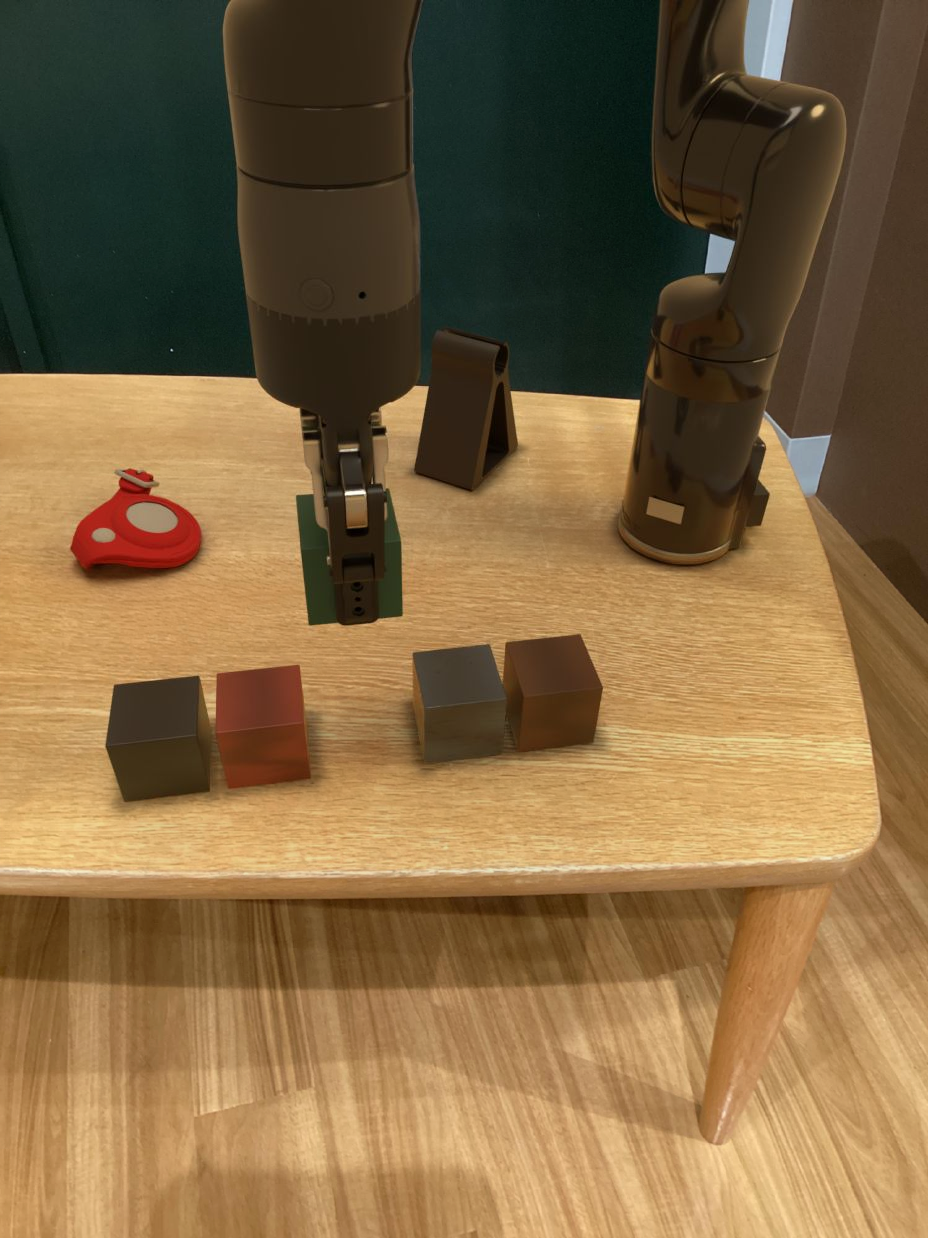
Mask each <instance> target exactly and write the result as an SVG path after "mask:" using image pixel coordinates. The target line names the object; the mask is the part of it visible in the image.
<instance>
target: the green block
mask: <svg viewBox="0 0 928 1238" xmlns="http://www.w3.org/2000/svg"><path fill="white" fill-rule="evenodd" d="M386 493H387V518H386V520H385V561H386V567H387V572H384V580H378V598H379V618H378V620H382V619H391V618H402V617H403V615H404V605H403V603H404V601H403V600H404V599H403V553H402V552H403V551H402V547H403V546H402V537H401V534H400V530H399V525H398V521H397V516H396V512H395V508H394V503H393V499H392V495H391V491H390V488H389V487H386ZM324 496H326V493H324ZM295 504H296V514H297V525H298V527H297V528H298V537H299V538H298V539H299V547H300V548H299V549H300V557H301V566H302V576H303V587H304V596H305V605H306V613H307V623H308V626H321V625H322V626H323V625H330V624H331V625H332V624H339V623H338V622H337V617H336V607H335V595H334V584H333V578H332V577H329V569H328V567H329V566H330V565H327V555H329V546H328V535H327V530H326V529H324V528H322V527H320V526H319V525H318V524H317V522H316V516H315V507H314V496H313V493H308V494H307V493H305V494H296V495H295ZM330 567H331V566H330Z"/></svg>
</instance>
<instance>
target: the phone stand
mask: <svg viewBox="0 0 928 1238" xmlns="http://www.w3.org/2000/svg"><path fill="white" fill-rule="evenodd" d="M430 351H431V352H430V353H431V371H430V377H429V382H428V388H427V393H426V399H425V404H424V412H423V416H422V422H421V428H420V435H419V439H418V445H417V452H416V457H415V463H414V468H413V469H414V470H413V471H414V472H415V473H418V474H421V475H424V476H427V477H431V478H433V479H436V480H438V481H439V480H440V481H443V482H444V483H445V482H446V483H449V484H451V485H455V486H458V487H461V488H464V489H467V490H471V491H474V490H476V489H477V488H478V487H479V486H480V485H481V484H482V483H483V482H484V481H485V480H486V479H487V478H488V477H489V476H490V475H491V474H492V473H493V472H494V471H495V470H496V469H497V468H499V467H500V466H501V464H502V463H504V462H505V461H506V460H507V459H508V458H509V457H510V456H511V455H512V454H513V453H514V452H516V450H517V449H518V446H519V441H518V433H517V427H516V419H515V413H514V412H515V411H514V406H513V399H512V390H511V384H510V377H509V360H510V344H509V343H508V342H507V341H503V340H501V339H500V340H499V339H495V338H492V337H487V336H484V335H480V334H475V333H472V332H467V331H463V330H460V329H456V328H453V327H448V326H445V325H444V326H442V330H440V329H437V330H436V332H435V334H434V336H433V339H432V344H431V349H430Z"/></svg>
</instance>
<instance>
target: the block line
mask: <svg viewBox="0 0 928 1238" xmlns="http://www.w3.org/2000/svg"><path fill="white" fill-rule="evenodd" d="M411 656H412V658H411V659H412V661H411V662H412V663H411V665H412V666H411V667H412V709H413V714H414V719H415V725H416V728H417V734H418V737H419V738H418V739H419V744H420V748H421V754H422V758H423V763H424V765H428V764H436V763H437V764H438V763H444V762H452V761H461V760H467V759H475V758H476V759H477V758H483V757H490V756H498V755H499V756H500V755H503V754H504V740H505V728H506V716H507V720H508V723H509V726H510V730H511V732H512V737H513V740H514V743H515V746H516V749H517V752H518V753H522V752H531V751H538V750H547V749H555V748H562V747H569V746H577V745H585V744H593V743H594V742H595V737H596V732H597V726H598V719H599V715H600V709H601V703H602V698H603V697H602V696H603V691H604V686H603V683H602V681H601V679H600V677H599V674H598V672H597V670H596V667H595V665H594V662H593V660H592V658H591V656H590V653H589V651H588V649H587V646H586V644H585V642H584V639H583V636H582V634H580V633H578V634H577V633H576V634H568V635H559V636H551V637H541V638H540V637H539V638H531V639H530V638H529V639H522V640H514V641H506V642H505V643H504V655H503V656H504V659H503V670H502V679H501V675H500V672H499V669H498V666H497V662H496V660H495V656H494V653H493V649H492V646H491V644H490V643H486V644H476V645H467V646H458V647H449V648H437V649H429V650H420V651H412V653H411ZM301 672H302V671H301V665H300V664H292V665H291V664H290V665H281V666H273V667H265V668H264V667H261V668H254V669H245V670H243V669H242V670H236V671H234V670H233V671H227V672H226V671H225V672H218V673H216V681H215V682H216V683H215V689H216V690H215V725H214V726H215V728H214V729H215V730H214V731H215V732H214V733H215V734H214V735H215V739H216V743H217V747H218V751H219V756H220V761H221V765H222V770H223V774H224V778H225V779H224V780H225V784H226V788H227V790H232V789H241V788H247V787H256V786H265V785H271V784H279V783H288V782H294V781H303V780H304V781H305V780H310V779H312V773H311V761H310V760H311V759H310V747H309V734H308V721H307V713H306V712H307V711H306V706H305V698H304V697H305V696H304V689H303V682H302V674H301ZM111 695H112V696H111V703H110V709H109V716H108V723H107V725H108V726H107V730H106V731H107V732H106V738H105V745H104V747H105V750H106V752H107V755H108V759H109V761H110V764H111V767H112V770H113V773H114V776H115V780H116V782H117V786H118V789H119V791H120V794H121V798H122V800H123V802H124V803H130V802H137V801H146V800H153V799H161V798H169V797H176V796H184V795H191V794H192V795H193V794H199V793H200V794H201V793H207V792H210V791H211V783H212V782H211V781H212V780H211V779H212V778H211V777H212V744H213V743H212V741H213V740H212V737H213V731H212V725H211V720H210V716H209V712H208V708H207V703H206V698H205V694H204V689H203V685H202V681H201V677H200V675H190V676H181V677H172V678H162V679H153V680H144V681H135V682H125V683H115V684H114V685H113V688H112V694H111Z"/></svg>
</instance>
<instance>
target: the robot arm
mask: <svg viewBox="0 0 928 1238" xmlns="http://www.w3.org/2000/svg"><path fill="white" fill-rule="evenodd" d="M424 3H425V0H230V1H228V4H227V6H226V8H225V11H224V17H223V24H222V54H223V65H224V66H223V67H224V76H225V83H226V91H227V98H228V107H229V115H230V122H231V123H230V124H231V132H232V139H233V146H234V147H233V148H234V156H235V162H236V179H237V181H236V182H237V206H236V207H237V208H236V209H237V213H236V214H237V235H238V242H239V244H238V245H239V252H240V259H241V266H242V275H243V282H244V290H245V291H244V292H245V298H246V299H245V300H246V307H247V315H248V323H249V330H250V338H251V346H252V347H251V348H252V354H253V361H254V369H255V370H254V371H255V376H256V380H257V381H258V384H259V386H260V387H261V388H262V389H263V391H264V392H265V393H267V395H269V396H270V397H271V398H272V399H274V400H276V401H278V402H279V403H282V404H284V405H285V406H289V407H291V408H294V409H298V410H299V419H300V420H299V421H300V430H301V439H302V447H303V457H304V463H305V464H304V465H305V466H306V468H307V470H309V471H310V476H311V484H312V485H311V486H312V494H313V496H314V507H315V516H316V522H317V524H318V525H319V526H320V527H322V528H324V529H326V530H327V535H328V546H329V555H327V565H330V566H331V567H330V566H329V567H328V569H329V577H332V578H333V584H334V595H335V607H336V617H337V622H338V623H337V624H339V625H341V626H345V627H348V626H358V625H369V624H374V623H376V622H377V621H378V620H379V619H378V618H379V598H378V580H384V572H387V567H386V561H385V520H386V518H387V493H386V488H387V486H386V471H385V466H386V464H387V463H388V462H389V460H390V459H389V458H390V457H389V456H390V453H389V451H390V450H389V439H388V438H389V437H388V430H387V425H382V423H383V421H382V418H383V417H382V407H384V406H386V405H388V404H390V403H394V402H396V401H398V400H399V399H401V398H403V397H405V396H406V395H407V394H408V393H409V392H411V390H412V389H413V388H414V387H415V386H416V385H417V382H418V381H419V379H420V376H421V371H422V313H421V312H422V308H421V307H422V290H421V289H422V279H421V278H422V273H421V271H422V270H421V269H422V267H421V266H422V265H421V262H422V261H421V259H422V257H421V255H422V254H421V253H422V251H421V250H422V249H421V247H422V245H421V244H422V243H421V239H422V238H421V236H422V235H421V233H422V232H421V218H420V208H419V200H418V195H417V194H418V193H417V185H416V174H415V164H414V163H415V131H414V130H415V116H414V115H415V114H414V113H415V112H414V111H415V110H414V108H415V107H414V106H415V105H414V102H415V101H414V99H415V98H414V96H415V95H414V91H415V90H414V47H415V42H416V41H415V40H416V35H417V31H418V27H419V23H420V18H421V15H422V12H423V11H422V10H423V8H424V7H423V6H424ZM749 3H750V0H658V15H657V33H656V46H655V47H656V49H655V62H654V63H655V65H654V78H653V79H654V80H653V81H654V82H653V96H652V108H651V109H652V110H651V112H652V113H651V127H650V128H651V130H650V131H651V132H650V172H651V181H652V187H653V191H654V196H655V200H656V201H657V204H658V205H659V207H660V209H661V210H662V213H664V214H665V215H666V216H667V217H669V218H670V219H671V220H673V221H674V222H677V223H679V224H681V225H684V226H686V227H688V228H692V229H693V230H698V231H700V232H703V233H707V234H709V235H712V236H716V237H719V238H723V239H726V240H728V241H732V242H734V244H733V247H732V252H731V255H730V258H729V260H728V263H727V267H726V270H725V271H720V272H706V273H698V274H691V275H688V276H683V277H680V278H677V279H676V280H673V281H671V282H669V283H668V284H666V285H665V286H664V287H663V288H662V289H661V290H660V292H659V293H658V295H657V298H656V300H655V305H654V310H653V315H652V322H651V329H650V336H649V341H648V347H647V354H646V360H645V368H644V373H643V378H642V385H641V390H640V396H639V402H638V403H639V404H638V409H637V414H636V421H635V427H634V428H635V429H634V432H633V433H634V434H633V439H632V445H631V451H630V457H629V463H628V470H627V476H626V482H625V488H624V494H623V499H622V501H621V502H622V503H621V509H620V511H619V516H618V517H619V518H618V522H617V527H618V532H619V535H620V536H621V538H622V539H623V541H624V542H625V543H626V544H627V545H628V546H629V547H630V548H632V549H633V550H635V551H636V552H637V553H640V554H641V555H643V556H645V557H647V558H650V559H653V560H656V561H658V562H662V563H663V562H664V563H668V564H674V565H699V564H704V563H709V562H712V561H714V560H717V559H718V558H720V557H722V556H723V555H725V554H726V553H727V552H728V551H729V550H733V549H739V548H740V547H741V545H742V540H743V537H744V535H745V534H744V533H745V530H746V528H752V527H761V526H762V524H763V520H764V517H765V513H766V509H767V506H768V503H769V499H770V496H771V493H770V492H769V491H768V489H767V488H766V487H765V485H764V484H763V483H762V481H760V479H759V477H760V474H761V470H762V466H763V463H764V460H765V456H766V452H767V444H766V442H765V441H764V440H763V439H762V438H761V437H760V436H759V434H760V431H761V427H762V424H763V419H764V416H765V411H766V407H767V404H768V400H769V396H770V392H771V388H772V384H773V382H774V381H773V380H774V375H775V374H776V373H775V372H776V368H777V365H778V362H779V357H780V354H781V350H782V346H783V342H784V338H785V335H786V332H787V328H788V326H789V323H790V321H791V319H792V316H793V315H794V312H795V310H796V308H797V306H798V303H799V301H800V299H801V296H802V293H803V291H804V288H805V286H806V285H805V284H806V280H807V278H808V274H809V271H810V267H811V265H812V261H813V258H814V255H815V251H816V248H817V245H818V242H819V239H820V235H821V232H822V231H823V226H824V223H825V221H826V217H827V214H828V211H829V209H830V205H831V202H832V199H833V196H834V194H835V190H836V186H837V184H838V180H839V177H840V173H841V169H842V165H843V161H844V156H845V151H846V141H847V118H846V113H845V108H844V106H843V104H842V102H841V100H840V99H839V98H838V97H836V96H835V95H834V94H833V93H831V92H828V91H826V90H823V89H820V88H816V87H811V86H807V85H803V84H802V85H801V84H797V83H791V82H787V81H781V80H777V79H772V78H766V77H762V76H757V75H751V74H748V73H747V71H746V63H745V39H746V38H745V37H746V27H747V26H746V25H747V17H748V12H749V11H748V9H749ZM324 493H326V496H324Z"/></svg>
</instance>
